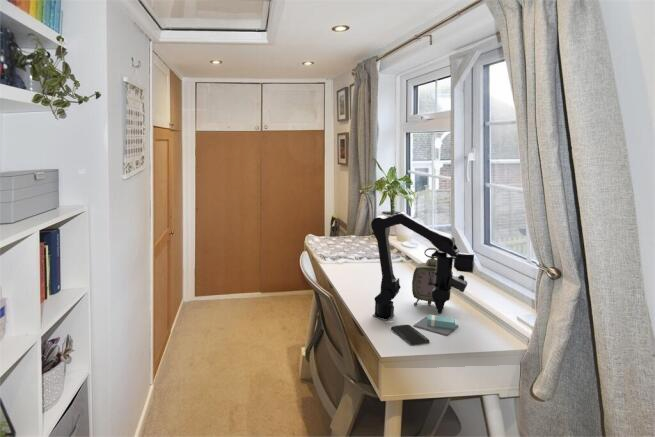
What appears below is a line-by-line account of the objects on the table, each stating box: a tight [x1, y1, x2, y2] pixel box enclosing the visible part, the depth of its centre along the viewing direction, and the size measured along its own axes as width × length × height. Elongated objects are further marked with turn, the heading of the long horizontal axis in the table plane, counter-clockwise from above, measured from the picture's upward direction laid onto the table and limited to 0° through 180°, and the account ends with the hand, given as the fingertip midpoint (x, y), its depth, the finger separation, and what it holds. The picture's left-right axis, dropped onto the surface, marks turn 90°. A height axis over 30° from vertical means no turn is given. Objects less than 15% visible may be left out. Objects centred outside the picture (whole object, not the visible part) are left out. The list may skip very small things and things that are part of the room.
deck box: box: [427, 314, 456, 330], centre depth 170 cm, size 2×5×10 cm
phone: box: [390, 324, 430, 346], centre depth 161 cm, size 8×1×15 cm
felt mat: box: [413, 316, 459, 337], centre depth 170 cm, size 13×11×1 cm
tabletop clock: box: [411, 247, 445, 310], centre depth 189 cm, size 14×9×25 cm, turn 73°
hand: (440, 309), depth 169 cm, fingers open, 9 cm apart
